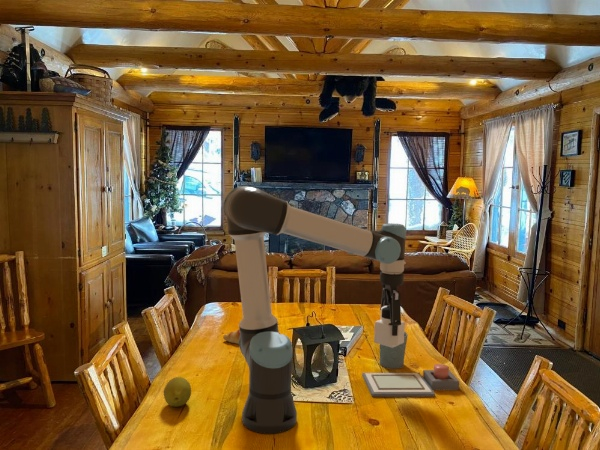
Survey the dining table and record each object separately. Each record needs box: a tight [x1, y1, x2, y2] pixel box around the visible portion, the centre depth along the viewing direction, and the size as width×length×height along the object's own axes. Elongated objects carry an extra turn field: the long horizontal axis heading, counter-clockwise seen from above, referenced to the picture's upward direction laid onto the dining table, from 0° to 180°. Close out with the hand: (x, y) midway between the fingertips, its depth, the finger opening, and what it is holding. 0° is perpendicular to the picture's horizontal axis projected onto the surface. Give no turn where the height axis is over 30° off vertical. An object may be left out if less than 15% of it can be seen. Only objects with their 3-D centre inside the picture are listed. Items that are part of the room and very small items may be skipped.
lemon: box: [163, 376, 192, 408], centre depth 142 cm, size 11×8×8 cm
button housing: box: [422, 369, 460, 391], centre depth 161 cm, size 9×9×3 cm
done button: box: [433, 363, 450, 379], centre depth 161 cm, size 5×5×4 cm
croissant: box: [222, 329, 240, 345], centre depth 198 cm, size 21×10×8 cm, turn 92°
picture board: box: [361, 372, 436, 398], centre depth 160 cm, size 16×20×2 cm
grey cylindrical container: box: [379, 331, 408, 370], centre depth 177 cm, size 10×10×12 cm
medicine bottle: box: [373, 305, 406, 348], centre depth 157 cm, size 7×7×12 cm
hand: (389, 339), depth 158 cm, fingers closed on medicine bottle, 10 cm apart
